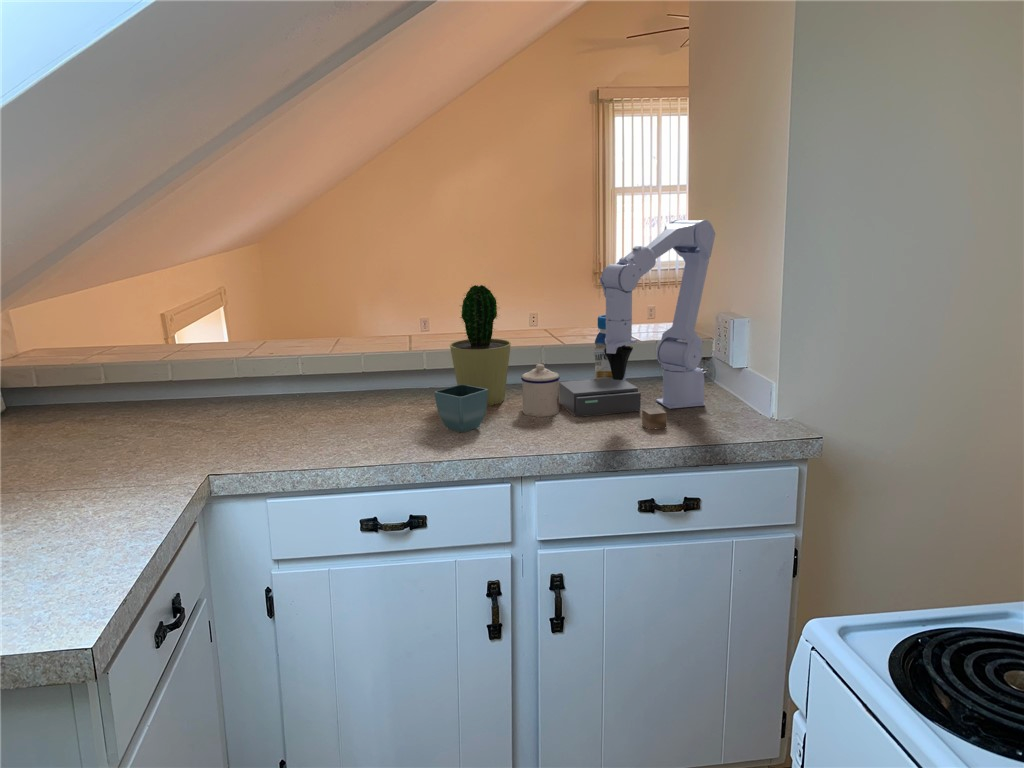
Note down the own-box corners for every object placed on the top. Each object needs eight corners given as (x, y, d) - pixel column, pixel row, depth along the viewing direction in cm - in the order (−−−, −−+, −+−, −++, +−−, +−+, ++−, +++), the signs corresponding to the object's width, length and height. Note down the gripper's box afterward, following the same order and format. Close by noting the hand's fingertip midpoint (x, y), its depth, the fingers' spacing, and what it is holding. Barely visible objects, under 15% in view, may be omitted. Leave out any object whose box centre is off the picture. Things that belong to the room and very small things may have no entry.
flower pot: (434, 430, 166) (432, 391, 164) (463, 421, 172) (461, 383, 170) (461, 437, 160) (460, 397, 158) (490, 427, 166) (489, 389, 164)
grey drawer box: (619, 397, 189) (619, 377, 188) (639, 410, 177) (639, 388, 176) (559, 402, 186) (559, 382, 185) (575, 416, 173) (575, 394, 172)
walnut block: (658, 423, 167) (659, 408, 166) (666, 428, 163) (666, 412, 162) (642, 424, 166) (642, 409, 165) (649, 429, 162) (649, 414, 161)
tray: (621, 398, 187) (621, 381, 186) (640, 411, 176) (641, 393, 175) (562, 403, 184) (562, 386, 183) (578, 416, 172) (578, 398, 171)
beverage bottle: (631, 393, 193) (632, 317, 188) (601, 396, 190) (601, 319, 186) (618, 386, 200) (619, 312, 196) (589, 389, 198) (589, 315, 194)
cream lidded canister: (566, 414, 176) (566, 366, 173) (532, 419, 172) (531, 370, 169) (543, 402, 186) (542, 357, 183) (510, 407, 182) (509, 361, 180)
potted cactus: (448, 408, 183) (443, 286, 176) (455, 393, 198) (450, 280, 191) (511, 408, 182) (507, 285, 175) (513, 392, 197) (510, 279, 190)
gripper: (629, 325, 156) (628, 387, 159) (643, 314, 169) (642, 373, 172) (596, 323, 158) (596, 385, 161) (613, 314, 171) (612, 371, 174)
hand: (618, 379), depth 167 cm, fingers closed
